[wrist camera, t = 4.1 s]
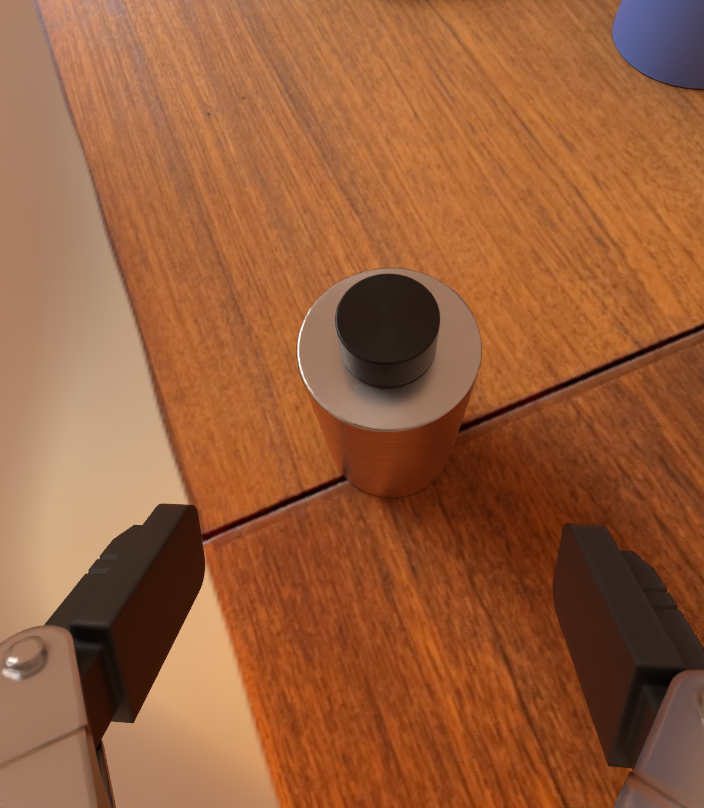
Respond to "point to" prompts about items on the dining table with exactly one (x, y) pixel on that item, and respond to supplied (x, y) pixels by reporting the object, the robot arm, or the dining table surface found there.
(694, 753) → the robot arm
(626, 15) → the water bottle
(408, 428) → the flask
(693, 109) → the dining table surface
